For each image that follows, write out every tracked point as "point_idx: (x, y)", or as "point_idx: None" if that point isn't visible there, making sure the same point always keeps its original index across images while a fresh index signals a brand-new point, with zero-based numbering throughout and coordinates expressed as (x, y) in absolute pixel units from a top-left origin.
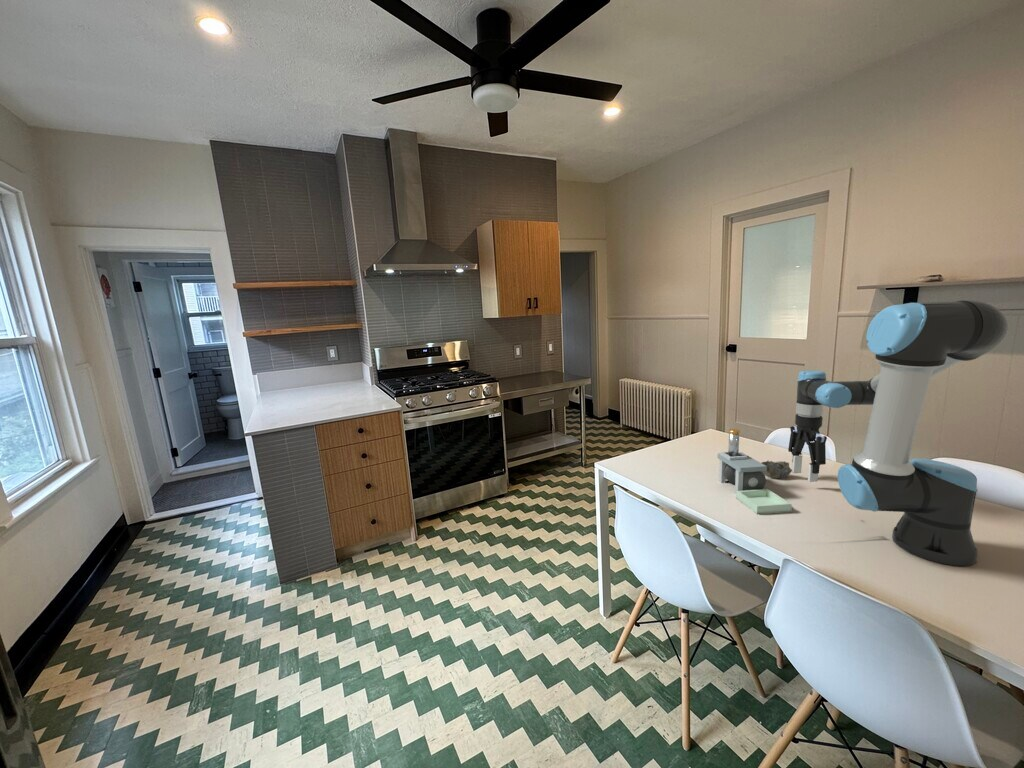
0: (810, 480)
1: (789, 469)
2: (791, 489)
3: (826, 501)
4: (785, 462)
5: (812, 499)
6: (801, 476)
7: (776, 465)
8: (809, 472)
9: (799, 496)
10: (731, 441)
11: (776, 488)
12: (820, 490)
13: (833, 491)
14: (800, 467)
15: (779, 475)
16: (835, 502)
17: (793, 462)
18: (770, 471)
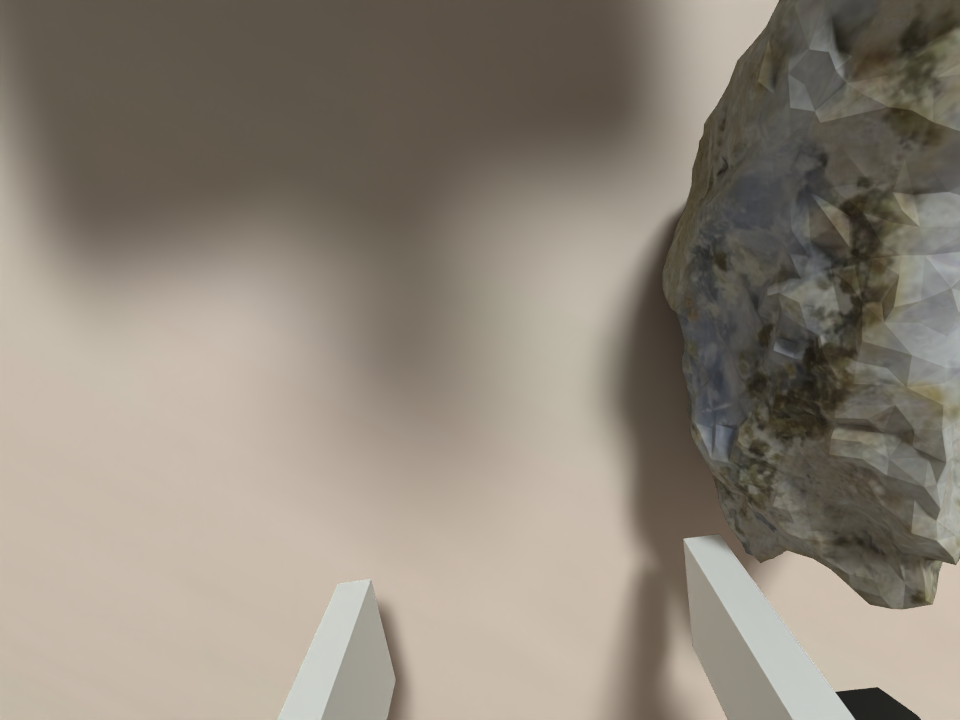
0: (334, 609)
1: (761, 524)
2: (326, 299)
3: (25, 517)
4: (914, 548)
5: (46, 398)
6: None
7: (805, 258)
8: (301, 715)
9: (106, 288)
10: None
11: (341, 96)
12: None
13: None
14: (731, 717)
15: (665, 295)
16: (21, 588)
17: (820, 699)
18: (716, 111)
